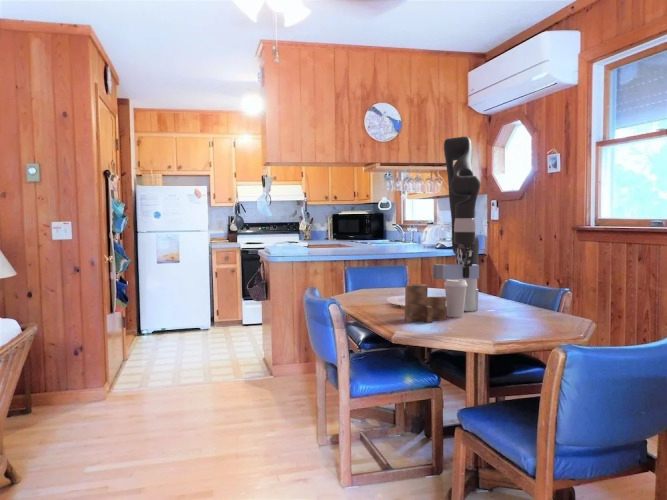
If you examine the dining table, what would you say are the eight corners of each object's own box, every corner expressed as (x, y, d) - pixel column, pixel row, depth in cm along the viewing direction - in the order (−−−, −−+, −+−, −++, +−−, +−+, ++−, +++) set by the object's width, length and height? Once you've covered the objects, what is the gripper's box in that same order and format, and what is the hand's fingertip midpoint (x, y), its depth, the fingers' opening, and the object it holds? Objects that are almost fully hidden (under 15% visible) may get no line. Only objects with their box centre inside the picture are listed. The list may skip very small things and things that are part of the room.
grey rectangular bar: (474, 277, 186) (475, 263, 186) (479, 278, 182) (479, 264, 182) (433, 277, 185) (433, 263, 185) (436, 279, 181) (436, 265, 180)
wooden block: (443, 318, 202) (444, 284, 201) (449, 322, 194) (450, 286, 193) (402, 318, 200) (402, 284, 199) (407, 323, 192) (407, 287, 192)
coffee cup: (462, 319, 200) (463, 282, 199) (439, 316, 205) (440, 280, 204) (469, 315, 208) (470, 279, 207) (447, 312, 213) (448, 278, 212)
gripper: (481, 231, 176) (480, 279, 177) (467, 229, 190) (467, 274, 191) (460, 231, 175) (460, 279, 176) (448, 230, 189) (448, 274, 191)
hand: (463, 276), depth 184 cm, fingers closed on grey rectangular bar, 4 cm apart
